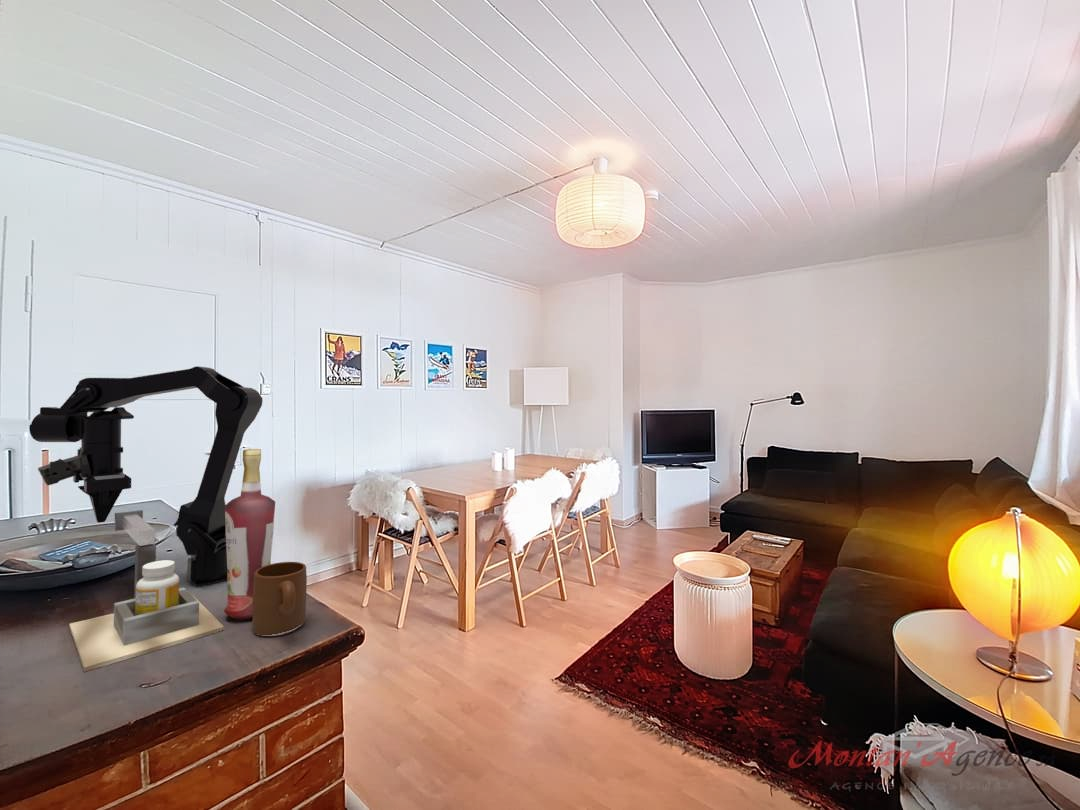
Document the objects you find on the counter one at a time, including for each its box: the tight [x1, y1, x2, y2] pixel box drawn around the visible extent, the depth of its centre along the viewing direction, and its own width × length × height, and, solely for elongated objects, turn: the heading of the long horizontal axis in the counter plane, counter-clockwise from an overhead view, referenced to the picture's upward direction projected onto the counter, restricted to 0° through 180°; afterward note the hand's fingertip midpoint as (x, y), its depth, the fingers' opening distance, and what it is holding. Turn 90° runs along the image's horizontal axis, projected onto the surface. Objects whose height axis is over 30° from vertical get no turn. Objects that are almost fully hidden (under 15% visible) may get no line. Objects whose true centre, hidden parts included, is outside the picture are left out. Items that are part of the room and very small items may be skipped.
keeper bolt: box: [114, 509, 156, 546], centre depth 86 cm, size 4×17×3 cm, turn 49°
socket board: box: [69, 544, 225, 673], centre depth 75 cm, size 16×18×11 cm
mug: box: [252, 561, 308, 636], centre depth 75 cm, size 12×8×9 cm, turn 37°
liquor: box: [223, 448, 276, 621], centre depth 81 cm, size 7×7×28 cm
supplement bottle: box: [135, 559, 180, 616], centre depth 75 cm, size 5×5×10 cm
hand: (100, 522), depth 93 cm, fingers closed
